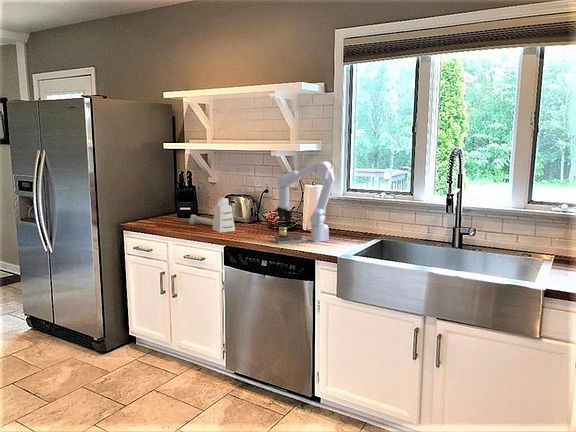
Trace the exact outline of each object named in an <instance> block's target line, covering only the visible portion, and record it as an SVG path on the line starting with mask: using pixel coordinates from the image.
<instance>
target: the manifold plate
mask: <svg viewBox="0 0 576 432" xmlns="http://www.w3.org/2000/svg"><path fill="white" fill-rule="evenodd" d="M308 239H309V238H308ZM308 239H307V238H305V237H303V235H302V234H299V233H296V234H291V236H290V235H288V234H287V237H282V238H280V237H279V234H275V235H274V238H271V242H272V243H273V242H274V243H275V244H277V245H281V244H292V243H302V242H308Z"/></svg>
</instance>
